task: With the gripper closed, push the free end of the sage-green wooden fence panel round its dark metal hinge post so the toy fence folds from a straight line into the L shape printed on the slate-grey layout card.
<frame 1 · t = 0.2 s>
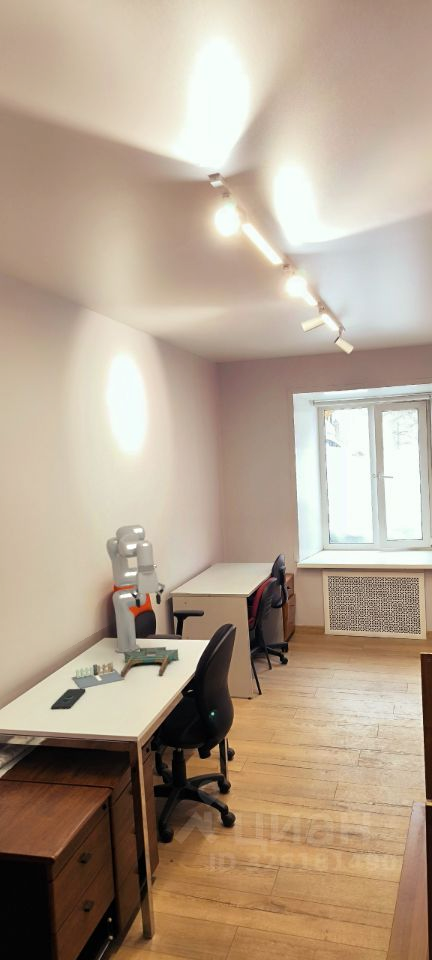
hand: (148, 605, 291), 31 cm above the table, tool pointing down, fingers open, 9 cm apart
layout card: (98, 678, 287), on the table
fixed fence section: (95, 676, 291), resting on layout card
folding fence panel: (84, 672, 289), point 3 cm above the table, hinge at 0.0°
miniature gate: (148, 666, 300), on the table, touching layout card
smart home device: (69, 701, 262), on the table
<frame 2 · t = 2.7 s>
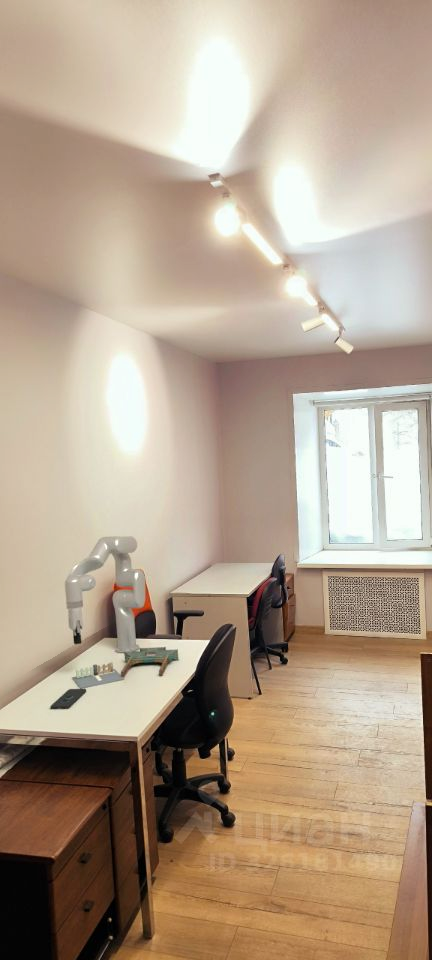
hand: (77, 643, 294), 15 cm above the table, tool pointing down, fingers closed
nothing on the table moved.
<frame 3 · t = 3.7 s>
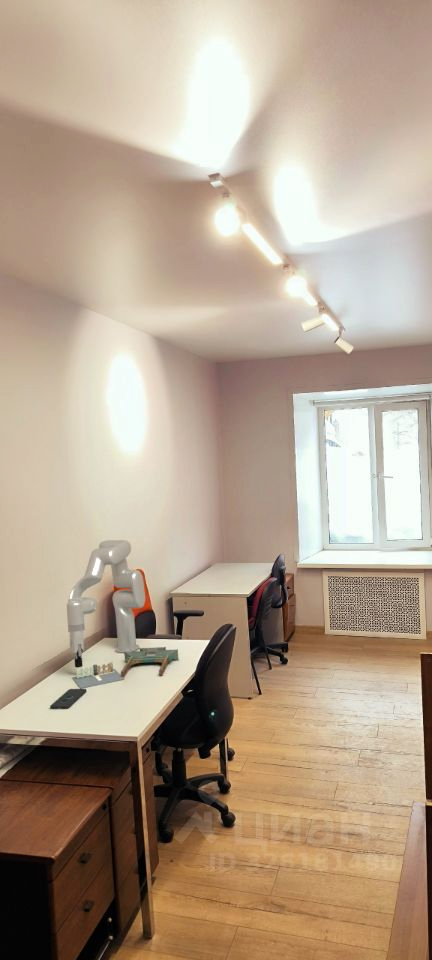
hand: (78, 666, 294), 4 cm above the table, tool pointing down, fingers closed
nothing on the table moved.
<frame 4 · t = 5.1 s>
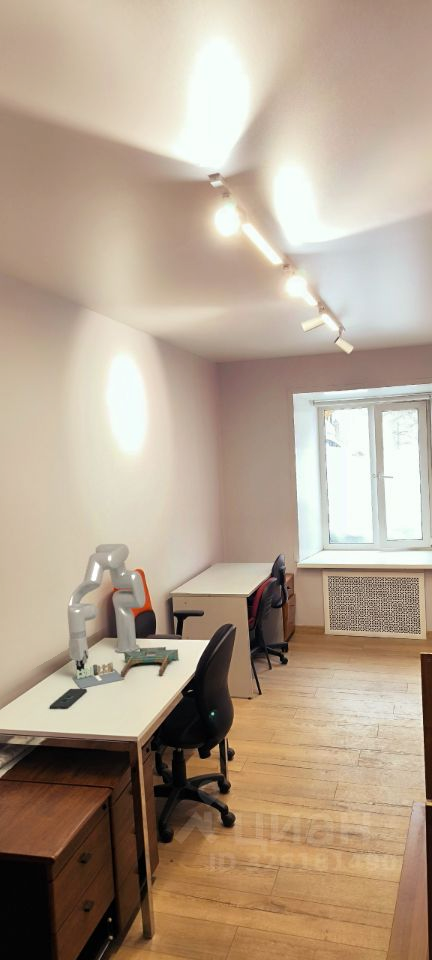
hand: (80, 673, 290), 2 cm above the table, tool pointing down, fingers closed
folding fence panel: (84, 672, 289), point 3 cm above the table, hinge at 5.8°, touching gripper
everything else where it was.
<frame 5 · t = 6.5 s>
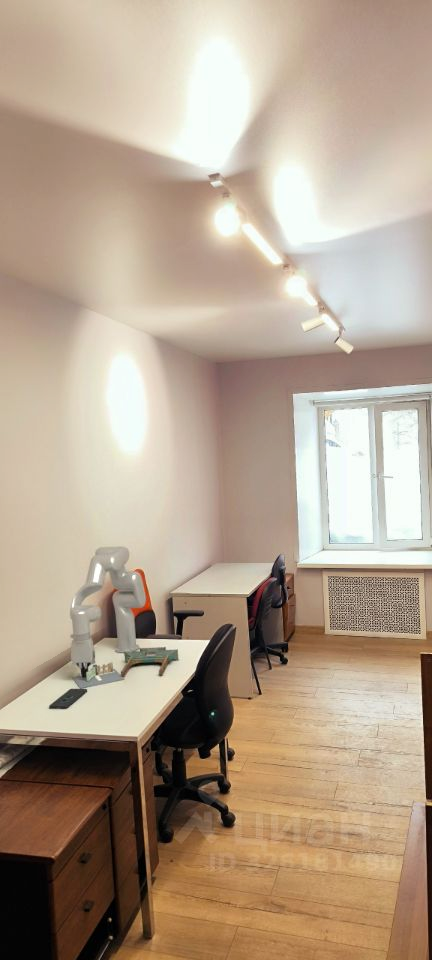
hand: (85, 676, 286), 2 cm above the table, tool pointing down, fingers closed
folding fence panel: (91, 673, 286), point 3 cm above the table, hinge at 53.9°, touching gripper
everything else where it was.
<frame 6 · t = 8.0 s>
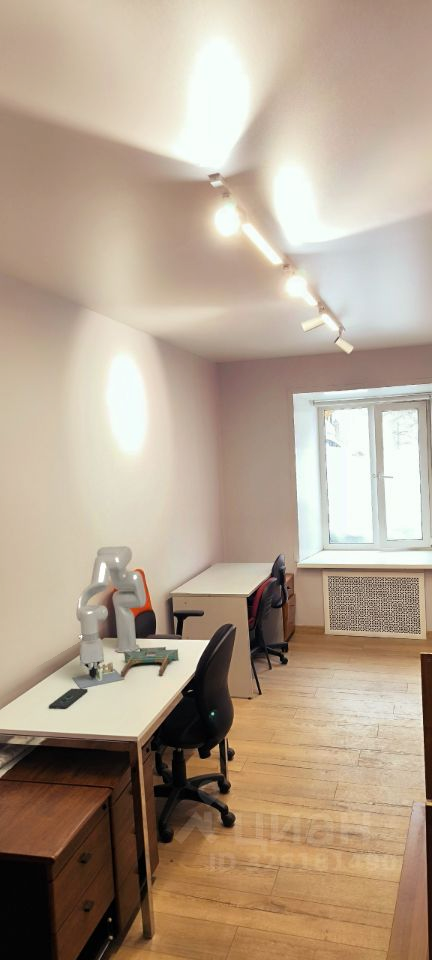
hand: (93, 676, 285), 2 cm above the table, tool pointing down, fingers closed
folding fence panel: (98, 673, 287), point 3 cm above the table, hinge at 92.4°, touching gripper
everything else where it was.
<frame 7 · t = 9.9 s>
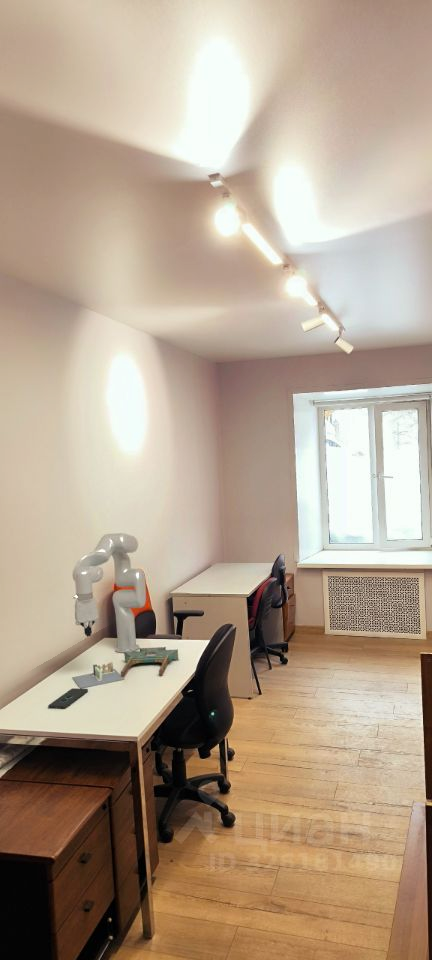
hand: (88, 635, 291), 19 cm above the table, tool pointing down, fingers closed
folding fence panel: (98, 673, 287), point 3 cm above the table, hinge at 92.2°
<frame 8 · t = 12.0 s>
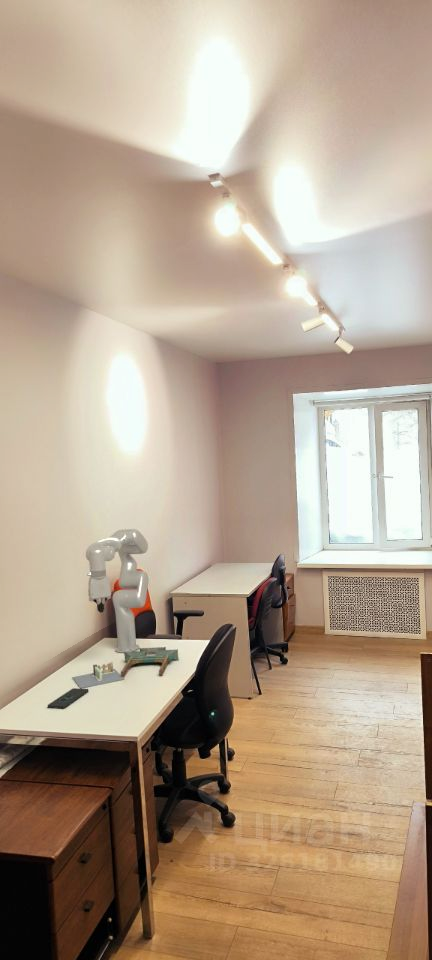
hand: (101, 611, 303), 27 cm above the table, tool pointing down, fingers closed
at the end: folding fence panel at +92° (first picture: +0°) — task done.
